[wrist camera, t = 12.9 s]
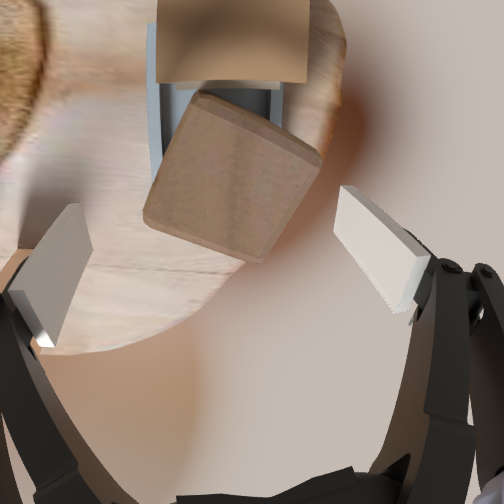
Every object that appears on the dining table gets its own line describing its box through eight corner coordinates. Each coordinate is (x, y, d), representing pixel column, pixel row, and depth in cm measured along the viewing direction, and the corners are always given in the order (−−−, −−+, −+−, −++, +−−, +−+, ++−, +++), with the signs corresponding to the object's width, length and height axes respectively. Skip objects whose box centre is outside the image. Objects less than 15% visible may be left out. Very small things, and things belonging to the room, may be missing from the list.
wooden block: (163, 156, 36) (136, 228, 19) (197, 86, 32) (197, 89, 15) (232, 184, 40) (261, 272, 23) (267, 119, 35) (332, 160, 19)
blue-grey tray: (152, 29, 27) (147, 23, 24) (277, 28, 30) (286, 22, 27) (158, 198, 40) (155, 210, 37) (269, 192, 43) (276, 203, 39)
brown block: (178, 24, 27) (160, -32, 10) (253, 23, 28) (310, -26, 12) (177, 87, 31) (156, 93, 15) (250, 86, 33) (305, 92, 16)
